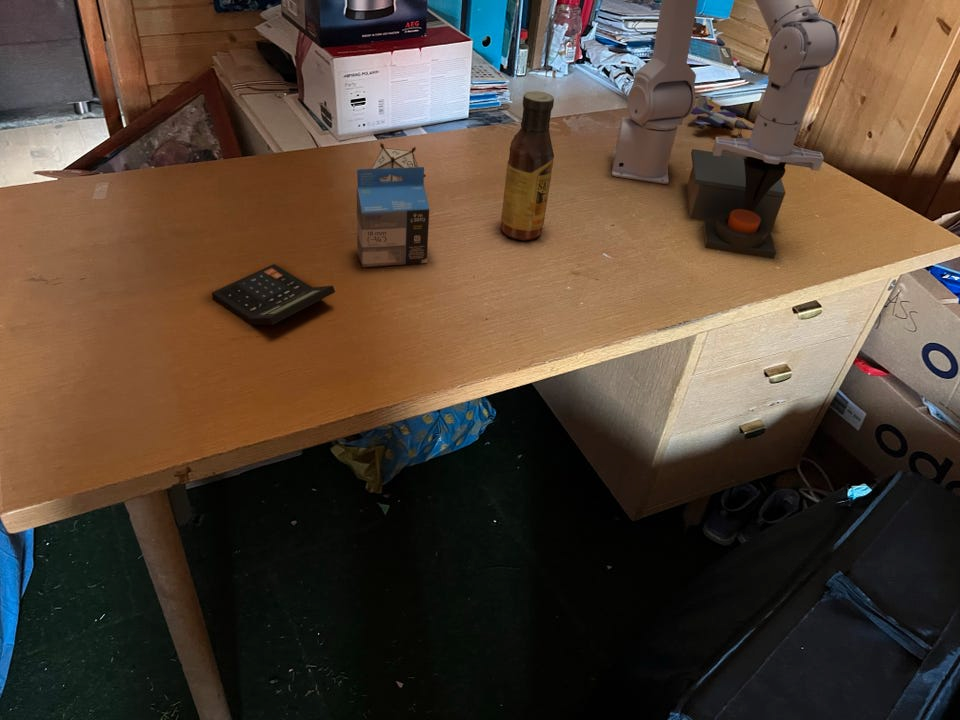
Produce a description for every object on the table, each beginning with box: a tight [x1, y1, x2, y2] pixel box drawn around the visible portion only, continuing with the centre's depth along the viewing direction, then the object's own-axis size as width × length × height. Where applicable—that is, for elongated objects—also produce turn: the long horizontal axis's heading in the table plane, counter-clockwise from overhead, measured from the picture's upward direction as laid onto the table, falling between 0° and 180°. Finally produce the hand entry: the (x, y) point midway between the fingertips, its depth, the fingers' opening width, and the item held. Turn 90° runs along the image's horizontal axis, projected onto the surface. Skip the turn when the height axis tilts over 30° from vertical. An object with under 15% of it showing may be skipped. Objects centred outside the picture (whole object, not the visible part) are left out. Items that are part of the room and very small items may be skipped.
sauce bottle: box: [500, 90, 555, 241], centre depth 104 cm, size 6×6×20 cm
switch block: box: [701, 213, 777, 260], centre depth 112 cm, size 10×7×3 cm
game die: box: [370, 142, 427, 181], centre depth 113 cm, size 9×8×10 cm
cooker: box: [686, 165, 785, 232], centre depth 120 cm, size 13×12×6 cm
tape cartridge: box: [356, 166, 430, 268], centre depth 98 cm, size 9×4×12 cm, turn 105°
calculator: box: [211, 263, 336, 326], centre depth 91 cm, size 9×12×3 cm
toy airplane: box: [690, 95, 753, 138], centre depth 146 cm, size 13×14×4 cm
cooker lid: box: [690, 148, 787, 198], centre depth 118 cm, size 13×12×1 cm
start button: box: [727, 209, 761, 234], centre depth 111 cm, size 4×4×2 cm
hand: (748, 207), depth 110 cm, fingers closed
